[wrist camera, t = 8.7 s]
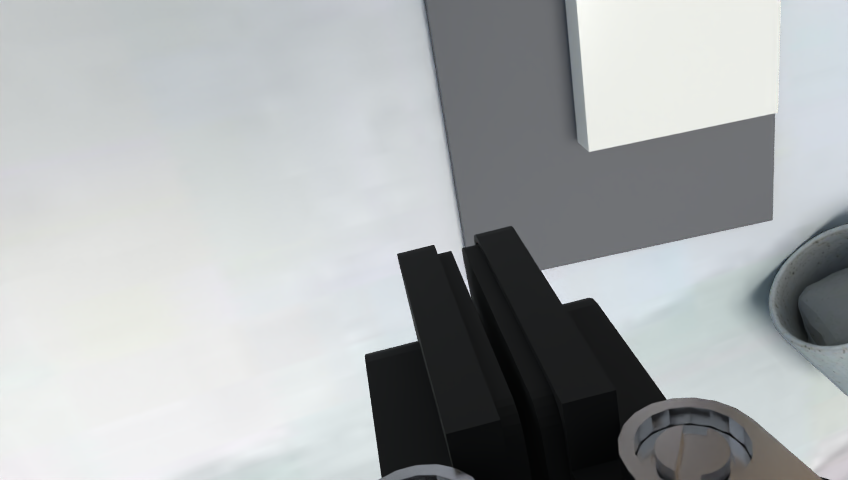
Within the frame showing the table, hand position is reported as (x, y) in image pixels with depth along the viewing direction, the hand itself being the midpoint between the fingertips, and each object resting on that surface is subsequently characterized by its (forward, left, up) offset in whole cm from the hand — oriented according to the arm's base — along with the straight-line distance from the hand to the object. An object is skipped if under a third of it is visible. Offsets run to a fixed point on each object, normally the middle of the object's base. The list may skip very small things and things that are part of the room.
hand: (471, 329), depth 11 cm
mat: (+5, +11, -25) cm, 28 cm away
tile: (+2, +9, -24) cm, 25 cm away
